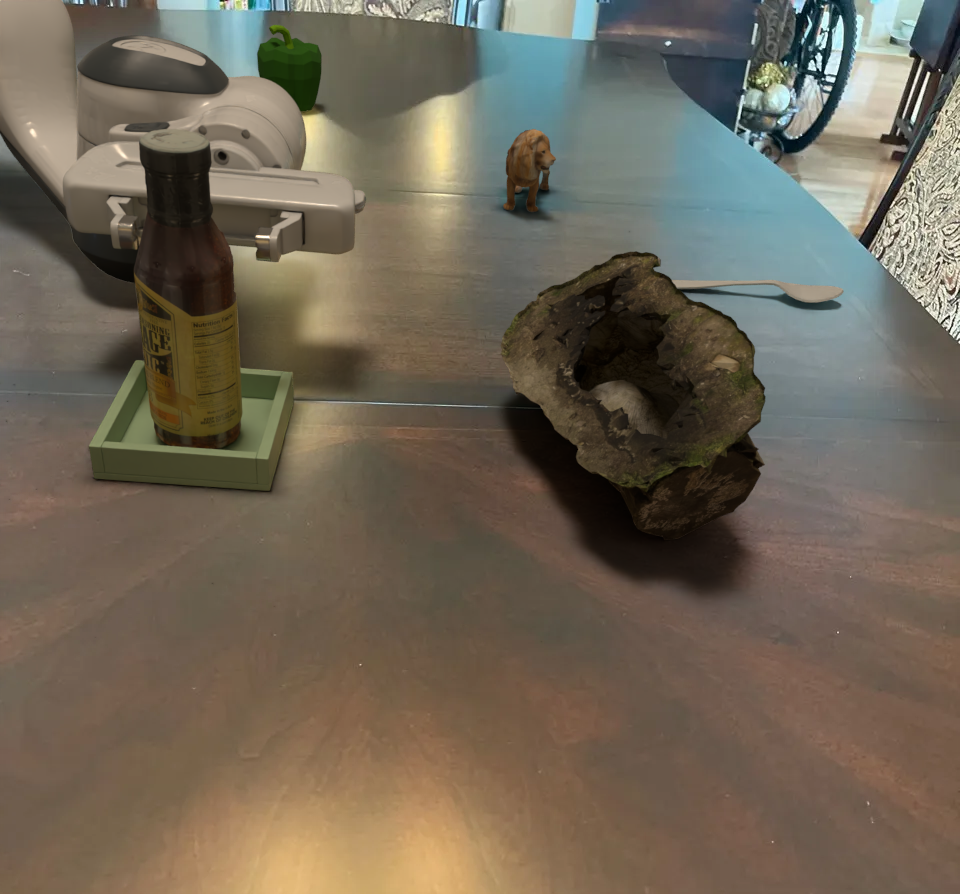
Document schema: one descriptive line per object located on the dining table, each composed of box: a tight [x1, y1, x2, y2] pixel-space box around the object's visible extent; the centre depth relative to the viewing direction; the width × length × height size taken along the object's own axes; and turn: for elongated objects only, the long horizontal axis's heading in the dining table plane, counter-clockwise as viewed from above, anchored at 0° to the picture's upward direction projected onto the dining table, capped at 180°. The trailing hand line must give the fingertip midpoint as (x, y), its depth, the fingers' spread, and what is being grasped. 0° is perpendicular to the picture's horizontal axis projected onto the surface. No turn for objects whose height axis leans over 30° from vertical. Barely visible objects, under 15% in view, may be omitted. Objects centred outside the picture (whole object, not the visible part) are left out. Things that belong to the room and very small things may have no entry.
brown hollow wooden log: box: [500, 250, 766, 541], centre depth 73 cm, size 28×13×15 cm
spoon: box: [671, 279, 844, 304], centre depth 104 cm, size 4×21×2 cm, turn 88°
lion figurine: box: [502, 128, 557, 213], centre depth 118 cm, size 15×5×9 cm, turn 176°
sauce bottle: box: [134, 129, 242, 449], centre depth 68 cm, size 6×6×20 cm
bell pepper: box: [256, 24, 323, 113], centre depth 138 cm, size 8×8×10 cm
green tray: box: [88, 359, 295, 492], centre depth 74 cm, size 12×13×2 cm
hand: (194, 244), depth 70 cm, fingers open, 8 cm apart
